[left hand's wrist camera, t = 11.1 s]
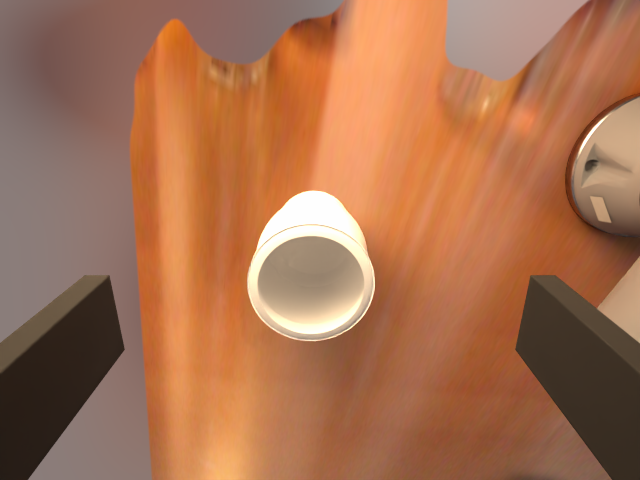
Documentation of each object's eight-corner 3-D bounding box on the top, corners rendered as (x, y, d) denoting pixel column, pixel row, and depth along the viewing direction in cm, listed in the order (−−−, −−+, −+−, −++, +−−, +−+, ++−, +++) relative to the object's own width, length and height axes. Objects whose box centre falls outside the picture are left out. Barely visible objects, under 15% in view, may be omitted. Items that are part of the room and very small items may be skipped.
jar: (276, 172, 44) (255, 212, 30) (368, 190, 45) (390, 237, 31) (262, 260, 48) (238, 332, 34) (347, 275, 48) (358, 352, 34)
